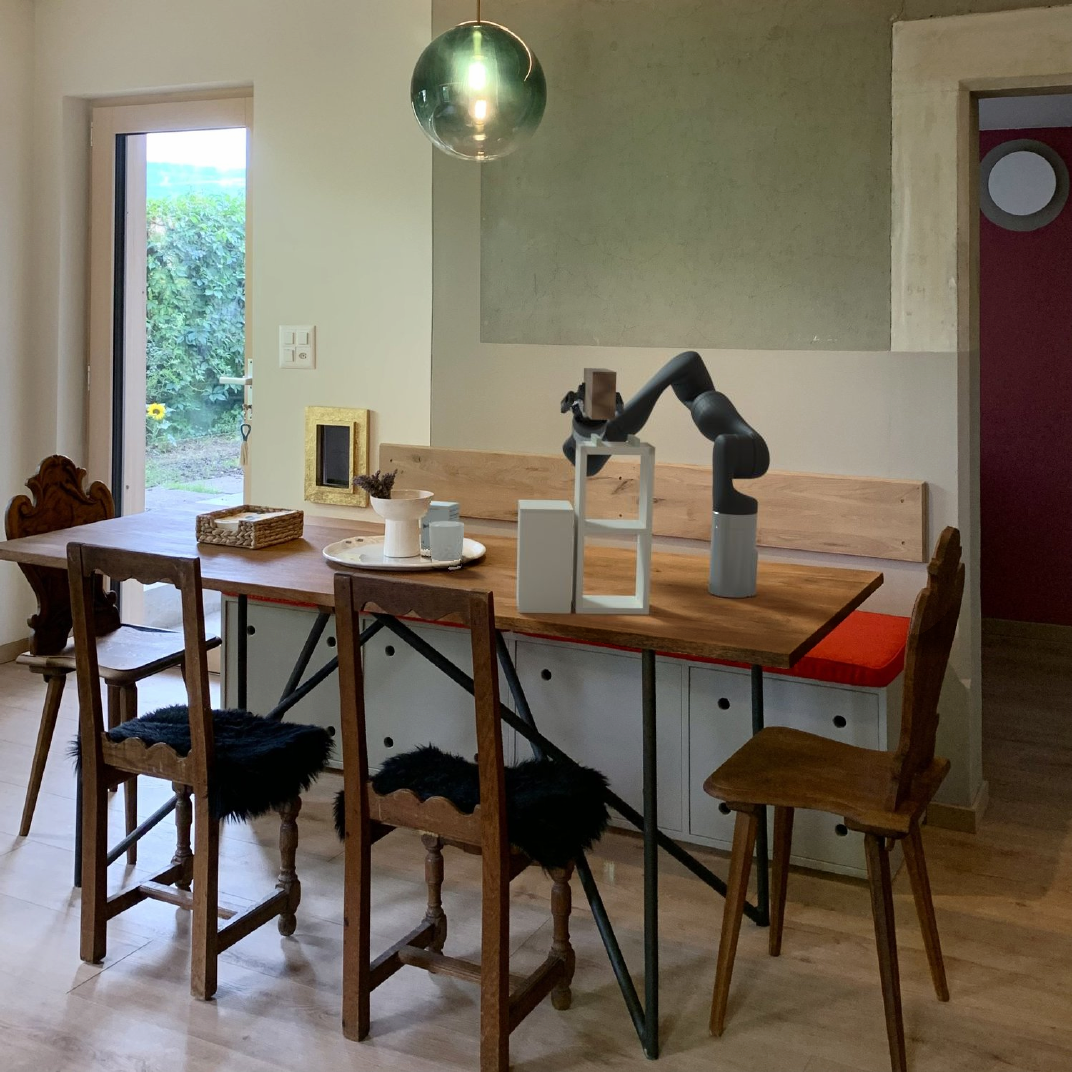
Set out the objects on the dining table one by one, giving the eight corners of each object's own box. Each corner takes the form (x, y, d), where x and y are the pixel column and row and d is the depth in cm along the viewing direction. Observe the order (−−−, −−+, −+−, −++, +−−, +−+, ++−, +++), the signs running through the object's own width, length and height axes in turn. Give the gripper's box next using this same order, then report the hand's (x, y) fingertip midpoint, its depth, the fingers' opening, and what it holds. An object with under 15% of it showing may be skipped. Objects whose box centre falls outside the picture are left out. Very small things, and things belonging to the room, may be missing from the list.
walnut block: (604, 411, 251) (605, 368, 249) (615, 419, 227) (616, 372, 226) (582, 411, 251) (583, 368, 249) (591, 419, 227) (592, 371, 226)
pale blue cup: (432, 571, 266) (432, 526, 265) (425, 564, 274) (426, 521, 272) (466, 570, 269) (467, 526, 267) (459, 563, 276) (460, 520, 274)
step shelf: (639, 599, 242) (646, 434, 236) (648, 614, 229) (655, 439, 223) (516, 598, 240) (519, 431, 235) (518, 612, 228) (522, 436, 222)
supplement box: (419, 556, 284) (419, 503, 281) (431, 551, 291) (431, 500, 288) (448, 559, 281) (449, 505, 279) (459, 553, 288) (460, 501, 286)
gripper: (622, 439, 259) (631, 403, 243) (556, 438, 259) (561, 402, 243) (621, 408, 262) (630, 371, 246) (556, 407, 261) (561, 369, 245)
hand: (596, 386), depth 244 cm, fingers closed on walnut block, 4 cm apart
